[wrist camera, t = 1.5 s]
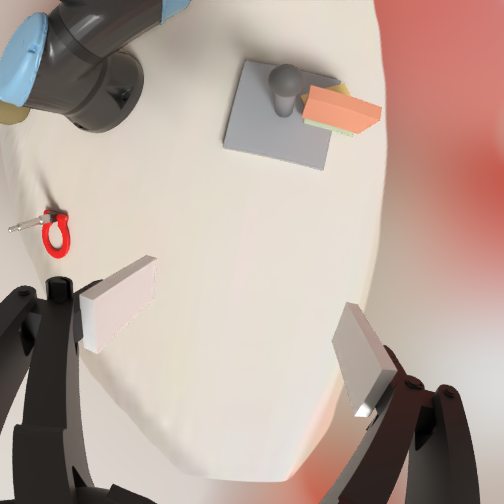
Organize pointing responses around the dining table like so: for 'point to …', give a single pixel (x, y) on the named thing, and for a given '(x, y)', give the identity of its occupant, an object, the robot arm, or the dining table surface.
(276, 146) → the grey flat block
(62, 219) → the tow hook
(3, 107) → the squeeze bottle
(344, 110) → the lever
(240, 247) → the dining table surface
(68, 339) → the robot arm
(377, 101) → the dining table surface
